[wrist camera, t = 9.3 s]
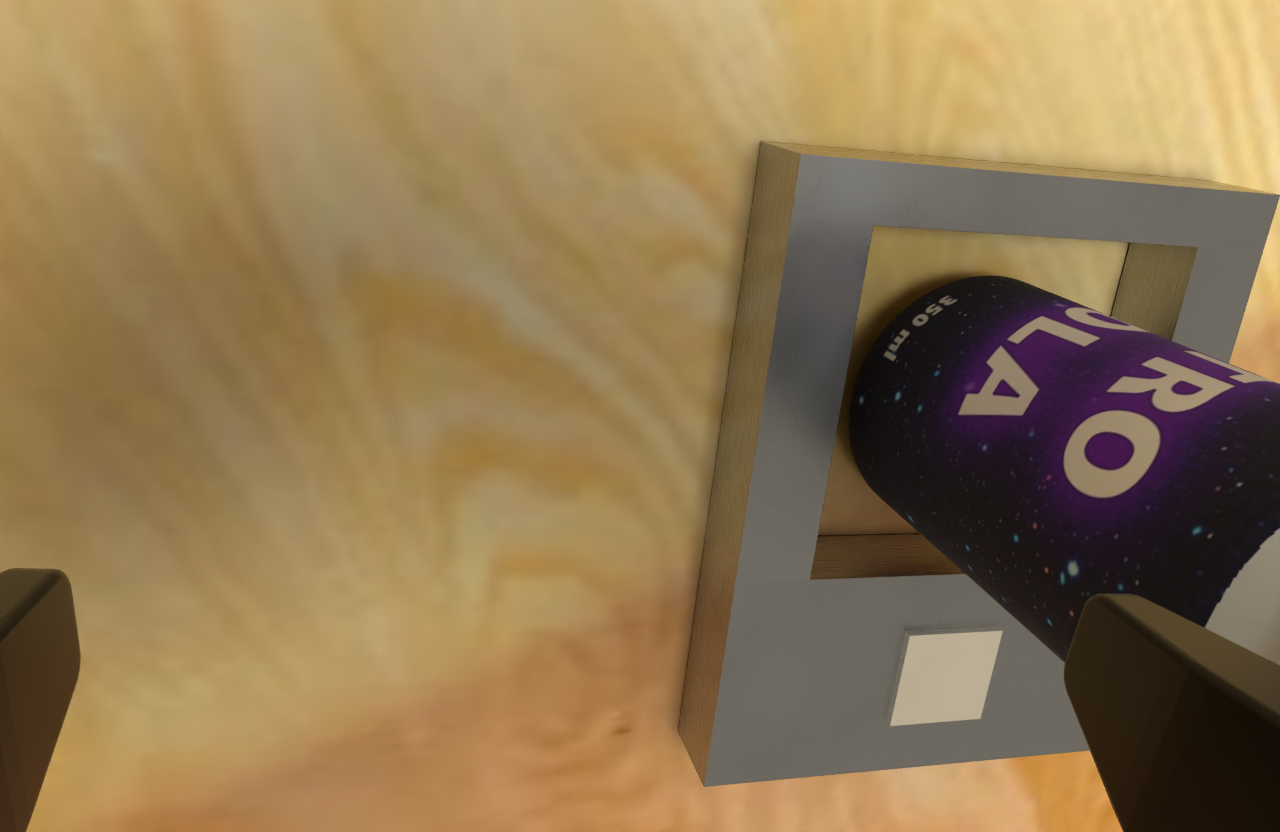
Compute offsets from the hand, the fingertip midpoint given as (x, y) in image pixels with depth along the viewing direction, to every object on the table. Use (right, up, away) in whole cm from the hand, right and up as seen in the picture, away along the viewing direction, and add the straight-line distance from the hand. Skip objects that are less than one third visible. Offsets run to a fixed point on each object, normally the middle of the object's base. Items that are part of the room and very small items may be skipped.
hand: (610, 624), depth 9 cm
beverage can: (+7, +3, +15) cm, 17 cm away
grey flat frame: (+7, +1, +16) cm, 17 cm away
